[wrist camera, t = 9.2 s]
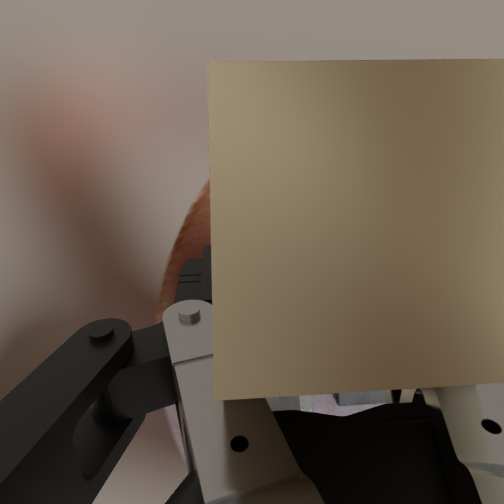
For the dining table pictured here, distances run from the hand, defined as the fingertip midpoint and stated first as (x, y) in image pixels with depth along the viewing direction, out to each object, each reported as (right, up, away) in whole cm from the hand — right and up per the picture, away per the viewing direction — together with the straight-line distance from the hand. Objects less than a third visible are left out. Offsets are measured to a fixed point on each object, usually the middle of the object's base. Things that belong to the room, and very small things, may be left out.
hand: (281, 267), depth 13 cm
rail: (0, -5, +8) cm, 9 cm away
